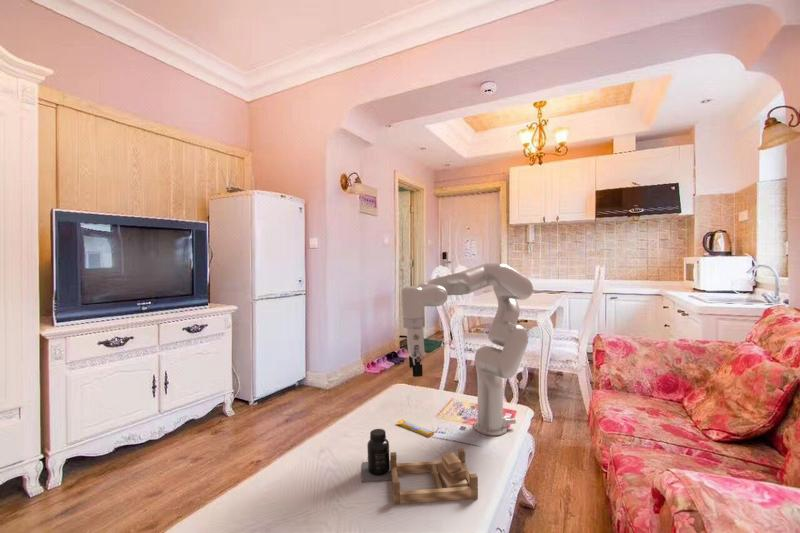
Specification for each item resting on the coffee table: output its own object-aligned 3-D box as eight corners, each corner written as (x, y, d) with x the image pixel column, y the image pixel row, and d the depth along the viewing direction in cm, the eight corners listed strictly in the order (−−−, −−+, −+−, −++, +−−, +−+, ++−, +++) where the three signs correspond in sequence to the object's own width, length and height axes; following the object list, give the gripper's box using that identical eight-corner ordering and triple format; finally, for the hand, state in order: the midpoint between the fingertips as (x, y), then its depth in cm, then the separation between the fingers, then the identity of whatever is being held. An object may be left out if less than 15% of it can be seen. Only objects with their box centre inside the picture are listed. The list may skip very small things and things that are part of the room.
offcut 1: (453, 460, 110) (453, 452, 110) (461, 470, 106) (461, 461, 106) (441, 463, 109) (441, 455, 109) (448, 472, 104) (448, 464, 104)
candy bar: (436, 435, 137) (436, 430, 137) (429, 439, 134) (429, 434, 134) (403, 422, 149) (402, 417, 149) (396, 425, 146) (395, 421, 146)
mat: (393, 461, 119) (393, 460, 119) (395, 480, 109) (395, 478, 109) (362, 463, 119) (362, 462, 119) (361, 482, 109) (361, 481, 109)
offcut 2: (451, 466, 112) (451, 458, 112) (466, 478, 106) (466, 470, 106) (438, 471, 110) (438, 462, 109) (452, 483, 103) (451, 475, 103)
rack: (463, 466, 116) (463, 448, 116) (477, 498, 101) (477, 477, 100) (390, 471, 114) (390, 452, 114) (393, 504, 99) (393, 482, 99)
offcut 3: (456, 474, 113) (456, 465, 112) (467, 493, 104) (467, 483, 104) (437, 477, 111) (437, 467, 111) (447, 496, 103) (447, 485, 102)
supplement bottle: (392, 465, 116) (392, 428, 116) (385, 478, 110) (384, 438, 109) (373, 462, 118) (372, 425, 118) (364, 474, 112) (363, 435, 112)
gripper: (428, 326, 117) (430, 379, 118) (421, 317, 134) (422, 363, 135) (405, 328, 116) (407, 381, 117) (400, 318, 133) (402, 364, 134)
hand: (415, 371), depth 126 cm, fingers open, 9 cm apart
